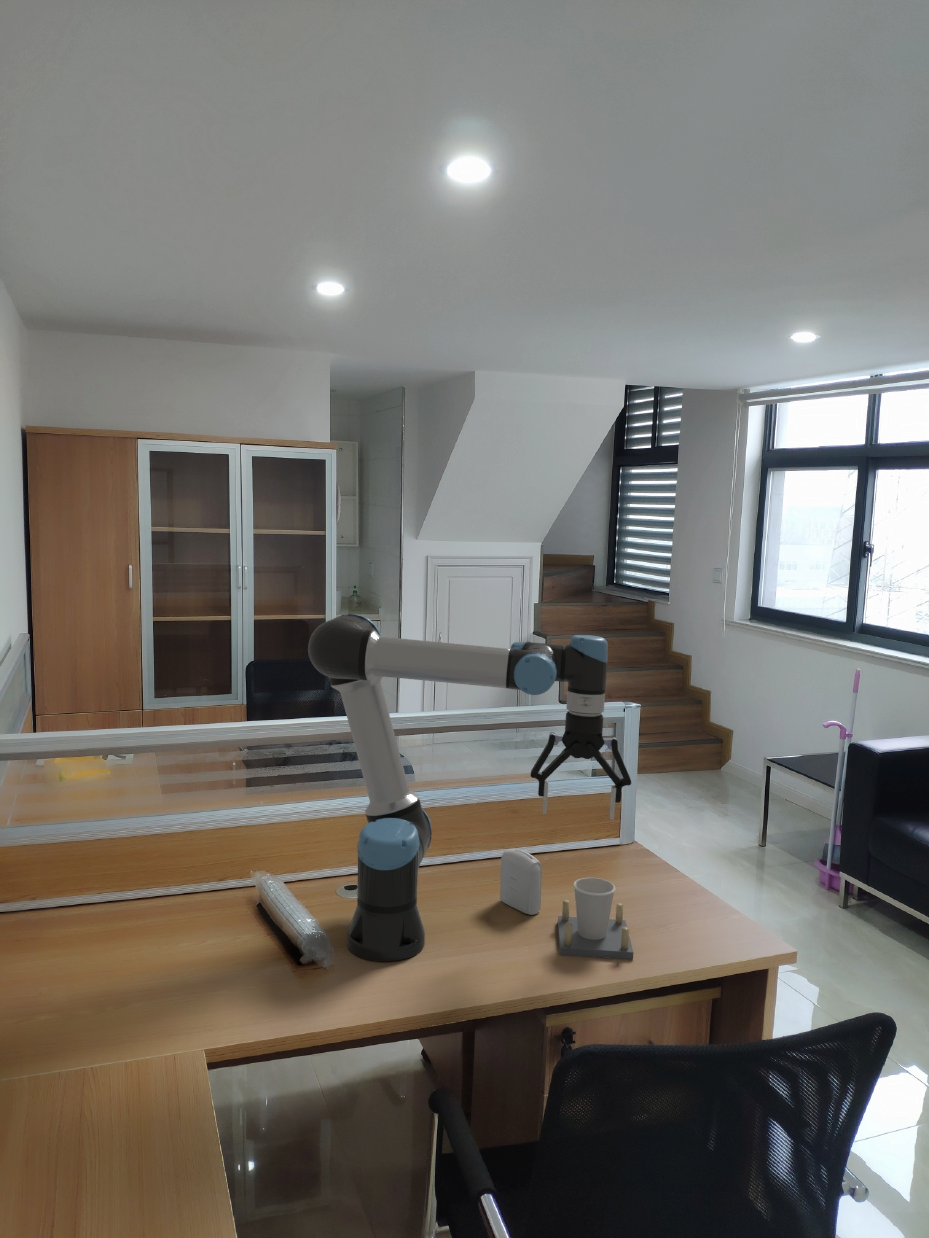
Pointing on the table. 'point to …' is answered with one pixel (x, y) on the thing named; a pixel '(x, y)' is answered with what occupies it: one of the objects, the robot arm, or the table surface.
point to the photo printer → (521, 881)
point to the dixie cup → (593, 906)
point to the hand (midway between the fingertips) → (578, 814)
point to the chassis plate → (607, 947)
